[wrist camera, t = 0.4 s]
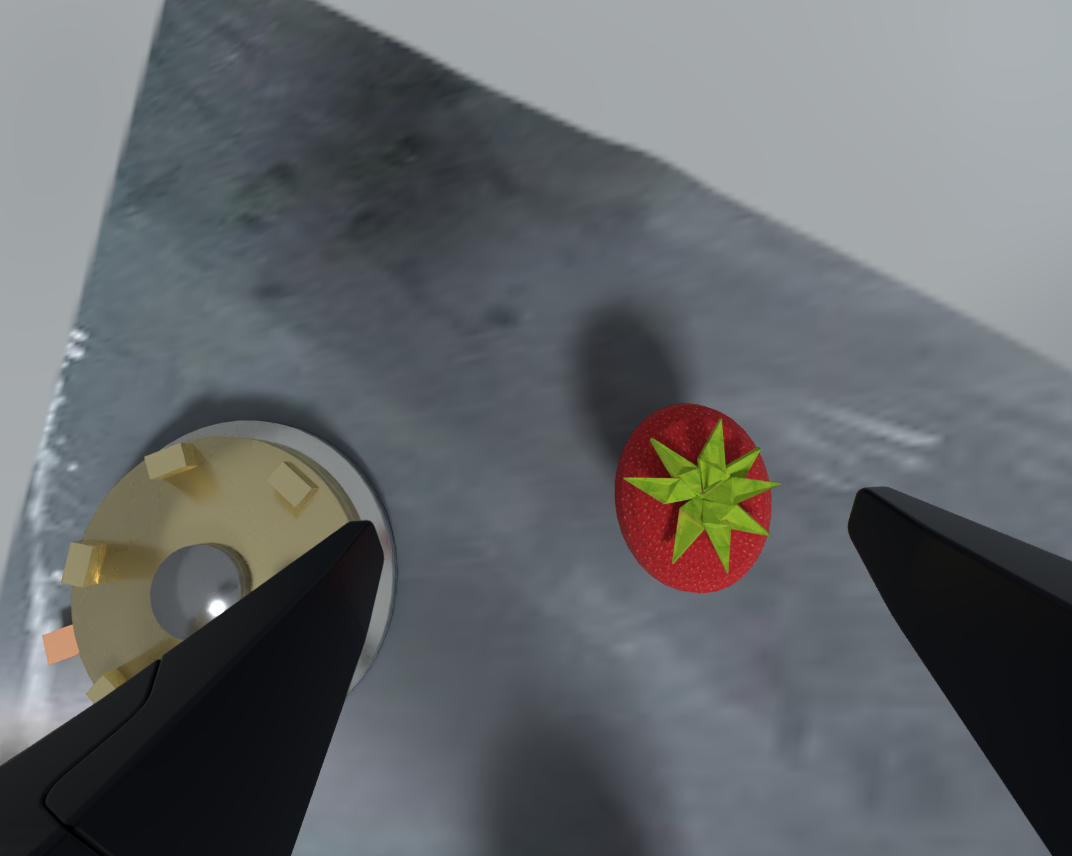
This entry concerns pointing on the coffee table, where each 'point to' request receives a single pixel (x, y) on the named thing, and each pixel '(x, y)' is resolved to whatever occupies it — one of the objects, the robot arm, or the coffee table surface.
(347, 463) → the base plate
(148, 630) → the crank disc
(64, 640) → the tab
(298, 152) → the coffee table surface
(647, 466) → the strawberry
